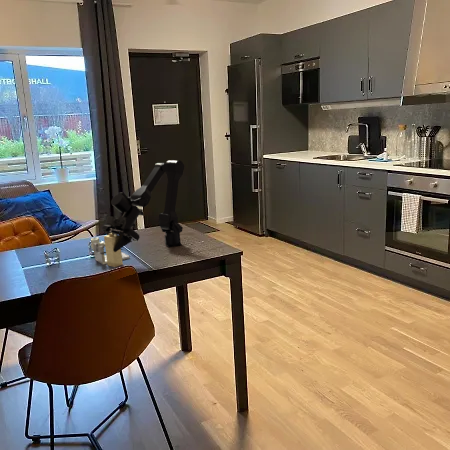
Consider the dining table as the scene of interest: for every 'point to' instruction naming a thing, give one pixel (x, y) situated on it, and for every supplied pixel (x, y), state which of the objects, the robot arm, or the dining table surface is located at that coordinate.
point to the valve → (96, 240)
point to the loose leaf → (112, 250)
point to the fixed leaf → (100, 254)
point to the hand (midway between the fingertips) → (110, 250)
